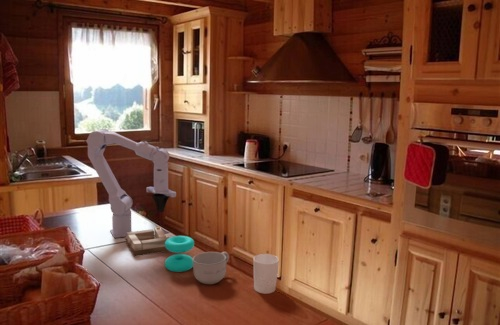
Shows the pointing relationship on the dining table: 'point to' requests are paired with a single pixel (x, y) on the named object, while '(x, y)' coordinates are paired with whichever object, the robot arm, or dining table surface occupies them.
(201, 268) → the teacup
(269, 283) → the white cup
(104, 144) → the robot arm
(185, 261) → the donuts
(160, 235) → the hinged leg
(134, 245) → the stool seat
